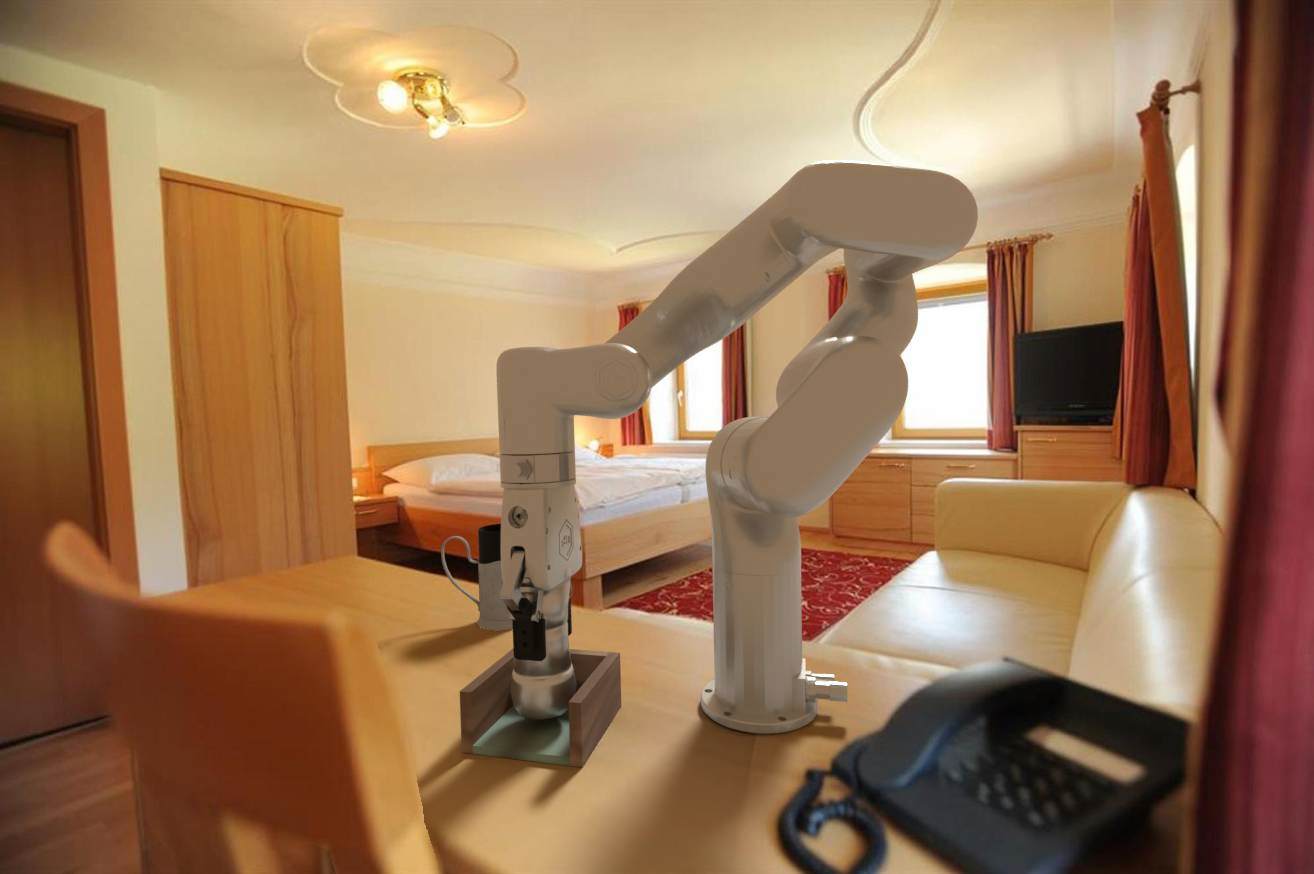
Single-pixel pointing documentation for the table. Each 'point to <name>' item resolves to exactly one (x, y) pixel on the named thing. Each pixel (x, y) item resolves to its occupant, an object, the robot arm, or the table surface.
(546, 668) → the plastic bottle
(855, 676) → the table surface
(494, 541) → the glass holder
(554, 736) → the u rest
